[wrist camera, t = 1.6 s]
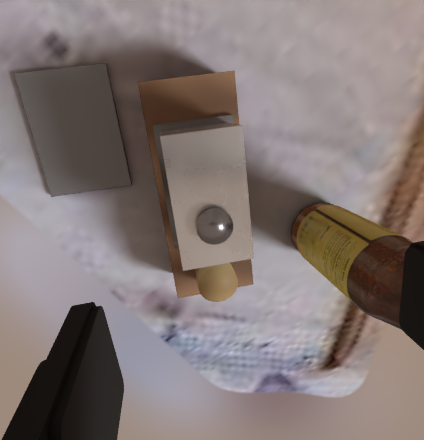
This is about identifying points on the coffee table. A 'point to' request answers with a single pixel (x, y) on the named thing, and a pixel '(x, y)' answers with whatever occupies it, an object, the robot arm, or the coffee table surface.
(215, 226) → the grey box with knob
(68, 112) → the rubber mat
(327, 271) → the sauce bottle
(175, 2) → the coffee table surface
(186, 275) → the hand plane
